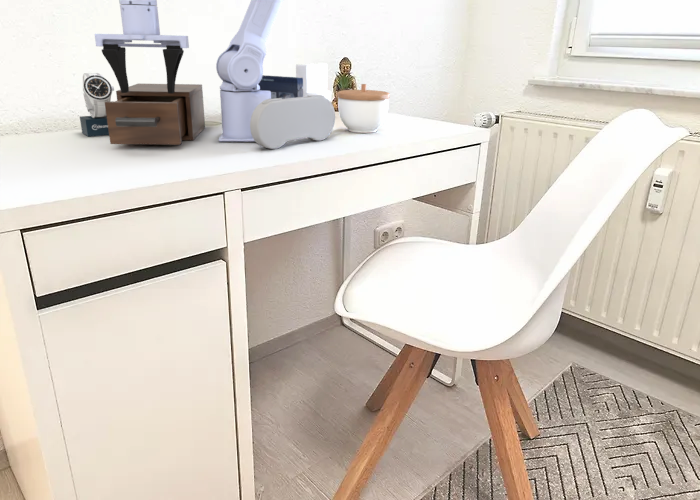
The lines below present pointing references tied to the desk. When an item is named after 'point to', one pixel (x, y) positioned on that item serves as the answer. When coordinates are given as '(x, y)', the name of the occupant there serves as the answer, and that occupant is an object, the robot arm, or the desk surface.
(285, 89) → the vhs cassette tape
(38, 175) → the desk surface
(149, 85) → the cabinet
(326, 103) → the game controller
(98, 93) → the watch
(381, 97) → the trinket box
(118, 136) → the drawer
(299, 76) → the base with upright slab
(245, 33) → the robot arm
